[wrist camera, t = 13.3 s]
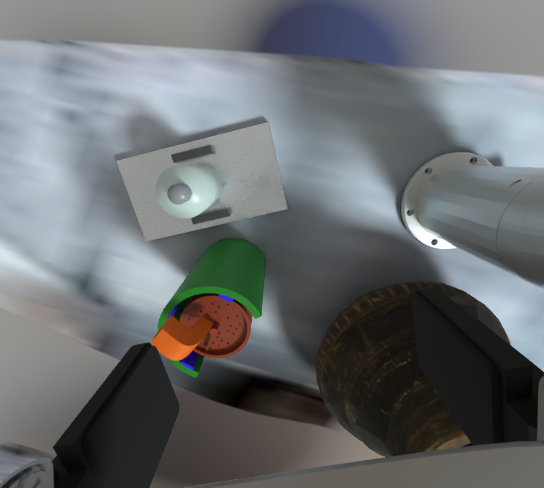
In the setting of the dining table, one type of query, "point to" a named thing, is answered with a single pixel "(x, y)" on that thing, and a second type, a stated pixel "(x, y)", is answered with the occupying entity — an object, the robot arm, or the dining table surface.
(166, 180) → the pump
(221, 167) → the clip bracket
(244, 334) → the motor
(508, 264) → the robot arm
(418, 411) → the ceramic pot
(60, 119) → the dining table surface
